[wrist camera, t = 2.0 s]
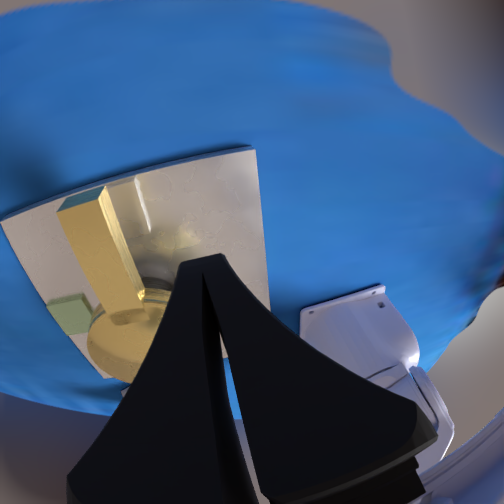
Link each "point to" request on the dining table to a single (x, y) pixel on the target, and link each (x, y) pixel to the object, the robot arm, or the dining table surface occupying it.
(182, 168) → the base plate
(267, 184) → the dining table surface
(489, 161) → the dining table surface
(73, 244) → the gold bar with disc
